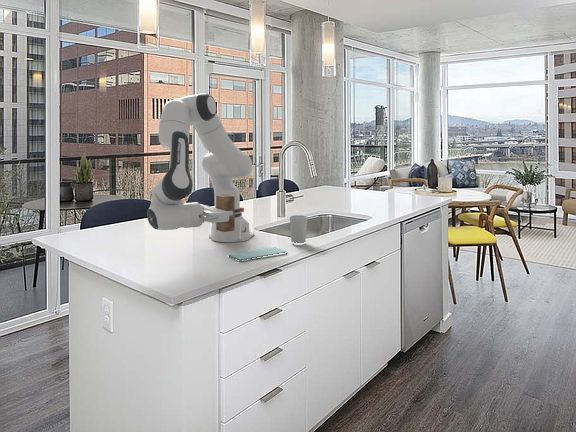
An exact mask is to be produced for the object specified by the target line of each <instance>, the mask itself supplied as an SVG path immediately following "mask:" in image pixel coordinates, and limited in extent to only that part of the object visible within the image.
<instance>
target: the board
mask: <svg viewBox="0 0 576 432" xmlns="http://www.w3.org/2000/svg"><path fill="white" fill-rule="evenodd" d="M285 252H287V253H288V251H287V250H284V249H281V248H278V247H276V246H275V247H267V248H261V249H254V250H248V251H247V250H246V251H241V252H235V253H229V254H228V253H227V254H228V255H227V256H229V257H228V258H230V257H231V258H230V259H232V258H234V259H233V260H235V259H237V260H240V261H242V260H247V259H252V258H257V257H263V256H268V255H273V254H279V253H285ZM237 260H236V261H237ZM240 261H239V262H240ZM242 262H243V261H242Z"/></svg>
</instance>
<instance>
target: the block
mask: <svg viewBox="0 0 576 432" xmlns="http://www.w3.org/2000/svg"><path fill="white" fill-rule="evenodd" d="M216 208H217V209H221V210H225V211H227V210H231V211H233V215H232V216H229V221H228V222H218V223H216V230H218V231H221V232H228V231H235V196H232V195H216Z"/></svg>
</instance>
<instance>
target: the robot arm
mask: <svg viewBox="0 0 576 432" xmlns="http://www.w3.org/2000/svg"><path fill="white" fill-rule="evenodd" d="M217 111H218V110H217V103H216V100H215V98H214V97H213V96H212V95H210V94H209V93H208V92H207V93H203V92H202V93H198V94H191V95H186V96H184V97H180V98H178V99H173V100H172V99H171V100H169V101H167V102H166V103H164V105H163V108H162V111H161V115H160V120H159V124H158V143H160V145H161V146H162V147H163V149H165V150H168V151H170V152H169V153H170V154H169V155H170V156H169V168H168V170H167V172H166V174H165V175H164V176H163V177H162V178H161V179H160V180H159V181H158V182H157V183H156V184H155V185H154V186H153V188H152V189H151V202H150V206H149V208H148V209H147V212H146V218H147V221H148V224H149V225H150V227H152V228H153V229H154V230H157V231H172V230H178V229H181V228H184V229H190V228H197V227H198V228H199V227H201V226H202V225H203V223H205V222H207V223H211V229H210V230H211V232H210V234H209V235H208V237H209V238H210V239H211V240H212V241H214V242H219V243H234V242H235V243H236V242H247V241H248V240H249V239H251V238H252V237H254V236H255V232H253V231H250V224H249V222H248V220H246V219H245V218H244V217H243V213H244V212H245V208H244V207H241V205H240V204H241V203H240V202H241V201H240V200H241V199H240V197H241V196H240V194H241V193H240V190H239V188H238V187H237V186H236V185H235V184H234V182H233V179H240V178H246V177H248V176H249V175H250V174H251V172H252V170H253V160H252V159H251V157H250V156H249V155H247V154H246V153H244V152H243V150H241V149H240V148H239V147H238V146H237V145H236V144H235V143H234V142H233V140H232V139H231V138H230V137H229V134H228V133H227V130H225V127H224V125H223V123H222V121H221V118H220V116H219V115H218V113H217ZM191 126H193V127H194V130H195V132H196V134H197V135H198V137H199V139H200V142H201V143H202V146H203V147H204V149H205V150H207V151H208V153H206V154H205V155H204V157H203V158H202V163H201V165H202V169H203V171H204V172H205V173H206V174H207V175H208V177H209V179H210V181H211V183H212V184H211V185H212V188H213V193H214V195H213V196H214V206H210V205H205V204H201V203H199V202H198V201H195V202H183V199H185V198H186V197H188V196H189V195H190V194H191V193H192V190H193V180H192V176H191V174H190V170H189V169H190V141H189V138H190V129H191ZM232 178H233V179H232ZM216 195H232V196H235V231H228V232H221V231H218V230H216V223H218V222H228V221H229V216H232V215H233V211H231V210H227V211H225V210H221V209H217V208H216ZM253 235H254V236H253ZM246 240H247V241H246Z"/></svg>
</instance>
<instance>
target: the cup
mask: <svg viewBox="0 0 576 432" xmlns="http://www.w3.org/2000/svg"><path fill="white" fill-rule="evenodd" d="M308 221H309V216H307V215H303V214H293V215H289V224H290V225H289V226H290V227H289V228H290V240H291V241H290V243H291V242H294V243H296V242H297V243H304V242H306V241H307V228H308Z"/></svg>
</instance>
